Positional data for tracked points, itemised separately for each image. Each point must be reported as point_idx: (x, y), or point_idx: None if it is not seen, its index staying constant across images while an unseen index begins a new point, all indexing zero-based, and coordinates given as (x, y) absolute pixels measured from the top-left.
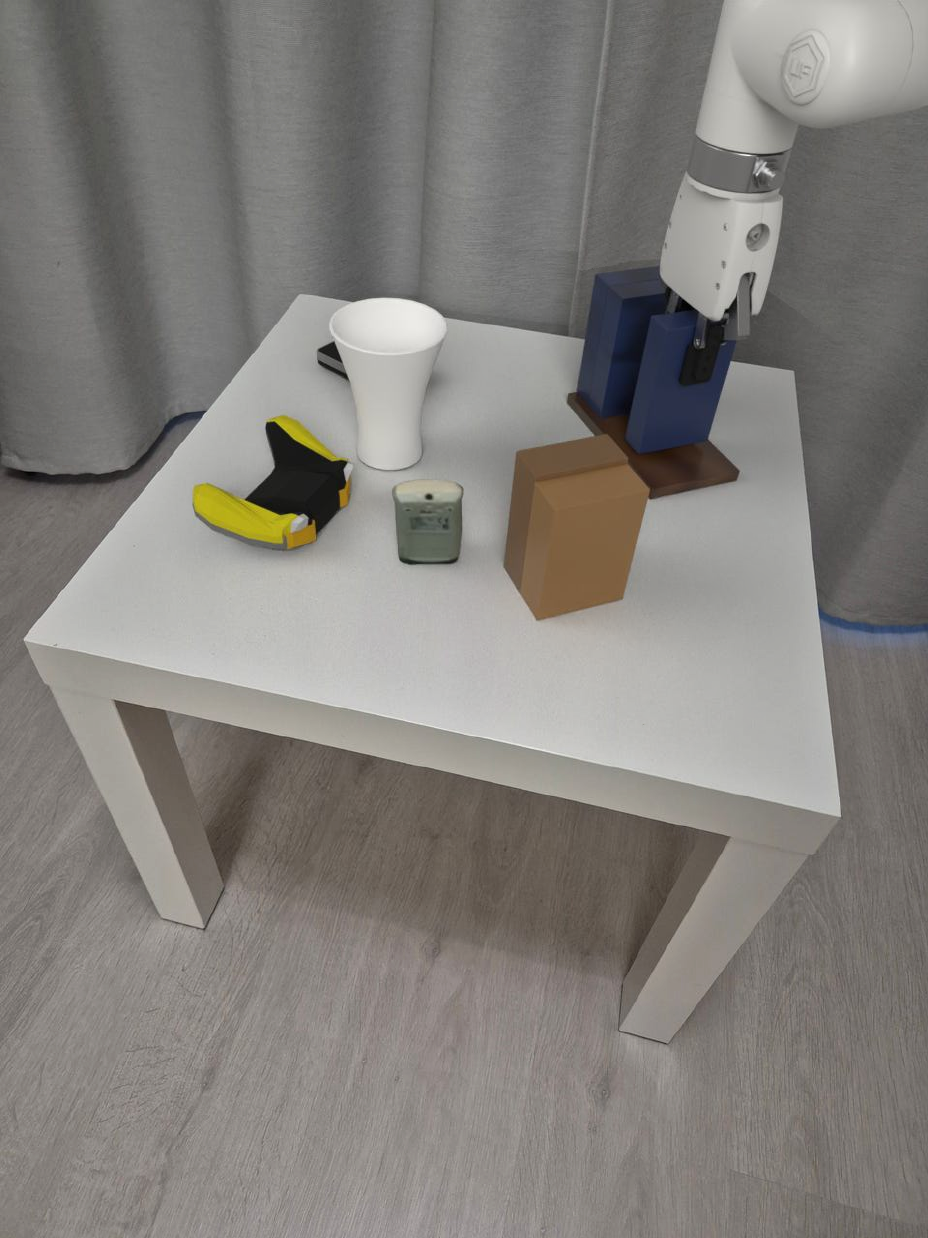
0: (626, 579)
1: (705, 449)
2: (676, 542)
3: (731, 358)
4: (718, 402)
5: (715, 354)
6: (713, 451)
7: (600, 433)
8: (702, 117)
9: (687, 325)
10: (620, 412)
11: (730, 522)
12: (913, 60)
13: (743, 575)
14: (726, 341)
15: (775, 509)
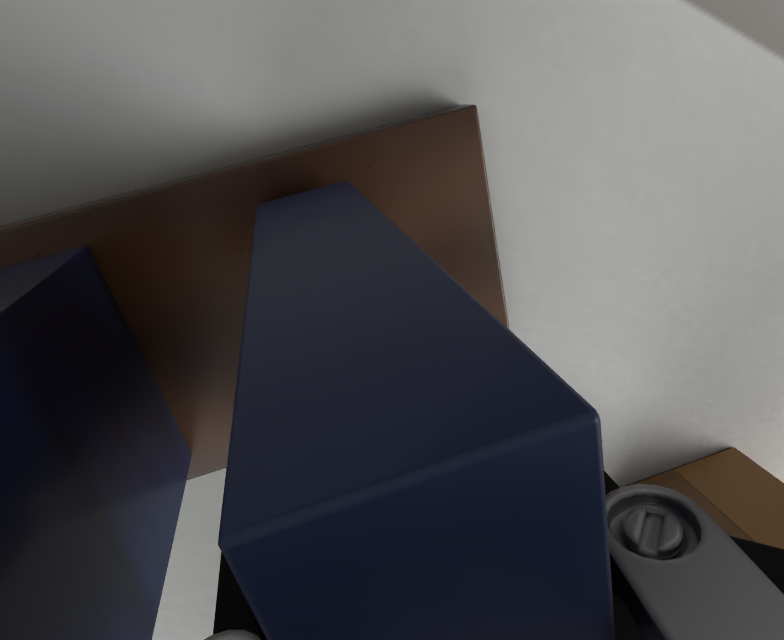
0: (773, 477)
1: (358, 181)
2: (640, 332)
3: (435, 261)
4: (374, 205)
5: (607, 476)
6: (370, 158)
7: None
8: None
9: None
10: (165, 407)
11: (614, 190)
12: None
13: (762, 221)
14: (781, 552)
15: (599, 35)
